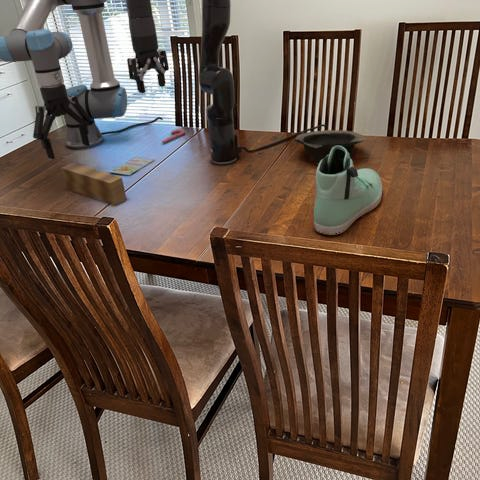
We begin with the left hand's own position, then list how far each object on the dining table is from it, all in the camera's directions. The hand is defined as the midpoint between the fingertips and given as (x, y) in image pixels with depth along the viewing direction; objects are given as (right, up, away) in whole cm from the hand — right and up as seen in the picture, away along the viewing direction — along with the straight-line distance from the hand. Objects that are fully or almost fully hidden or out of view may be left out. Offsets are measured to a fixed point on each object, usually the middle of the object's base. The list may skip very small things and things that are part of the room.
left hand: (69, 151), depth 157 cm
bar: (+8, -14, +3) cm, 16 cm away
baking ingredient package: (+16, -2, +21) cm, 26 cm away
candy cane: (+27, +14, +45) cm, 55 cm away
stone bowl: (+88, +1, +17) cm, 90 cm away
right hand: (+29, +18, -8) cm, 35 cm away
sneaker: (+87, -20, -18) cm, 91 cm away
